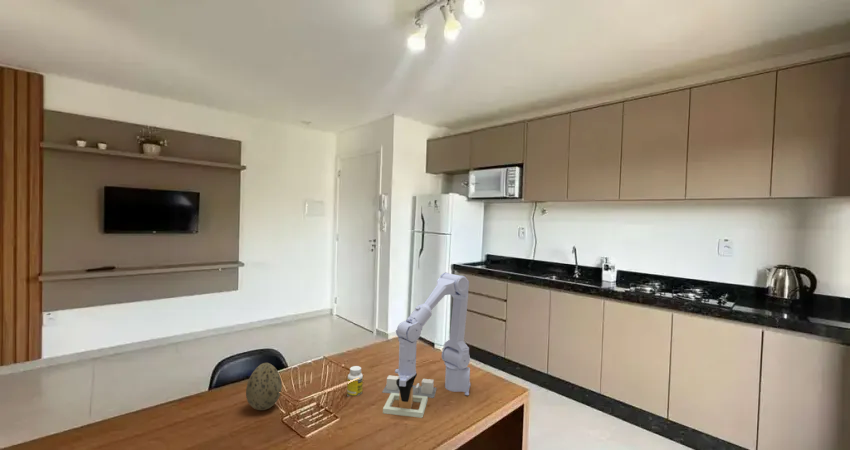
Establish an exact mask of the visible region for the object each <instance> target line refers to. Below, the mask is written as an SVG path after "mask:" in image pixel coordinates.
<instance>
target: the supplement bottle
mask: <svg viewBox="0 0 850 450" xmlns="http://www.w3.org/2000/svg"><path fill="white" fill-rule="evenodd" d="M358 377H359V378H360V379H358V380H355V381H353V382H351V383H349V384H346V385H347V387H346V388H347V389H346V395H347V397H358V396H360V395H362V394H363V383H364V382H363V381H364V378H363V377H364V376H363V373H362V367H361V366H359V365H353V366H351V367H350V368H349V374H347V381H350V380H353V379H355V378H358Z"/></svg>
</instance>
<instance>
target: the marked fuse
mask: <svg viewBox="0 0 850 450" xmlns="http://www.w3.org/2000/svg"><path fill="white" fill-rule="evenodd" d="M413 403H414V402H413V387H411V390H410V396H409V400H408V402H403V401H402V400H401V395H400V392H399V400H398V408H406V409H412V407H413Z"/></svg>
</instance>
